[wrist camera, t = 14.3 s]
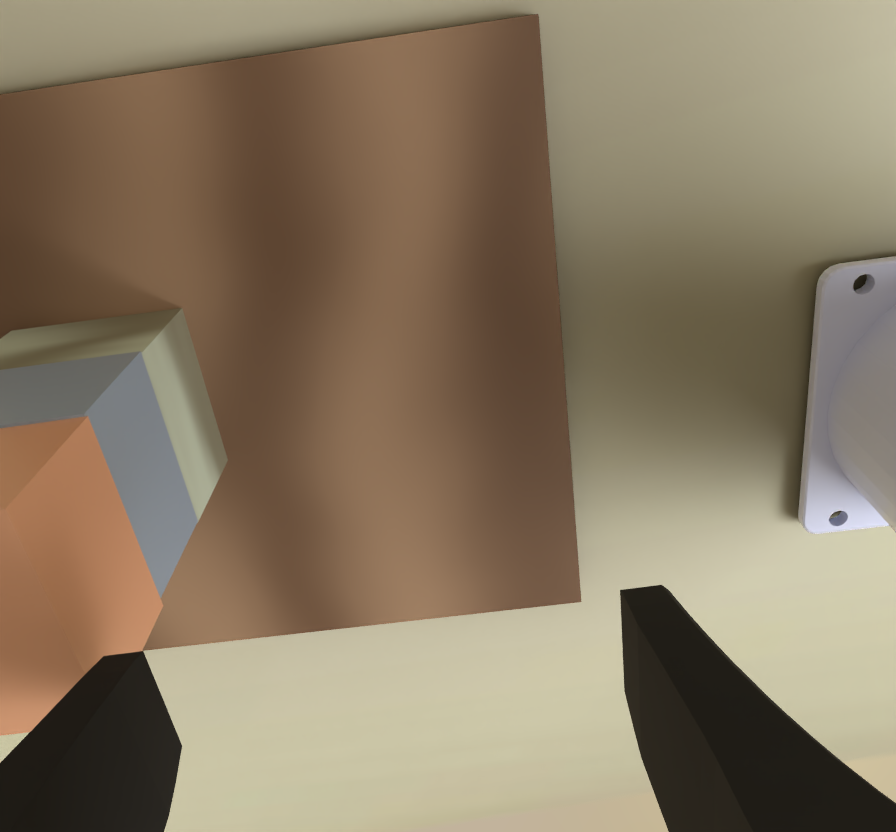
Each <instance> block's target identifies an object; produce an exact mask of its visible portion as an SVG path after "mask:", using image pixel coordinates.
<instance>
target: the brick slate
mask: <svg viewBox="0 0 896 832" xmlns="http://www.w3.org/2000/svg"><path fill="white" fill-rule="evenodd" d="M85 416H88V417H89V420H90V422H91V425H92V427H93V430H94V432H95V435H96V437H97V440H98V442H99V445H100V448H101V450H102V453H103V455H104V458H105V460H106V463H107V465H108V468H109V470H110V473H111V475H112V478H113V480H114V483H115V485H116V488H117V490H118V493H119V495H120V498H121V500H122V503H123V505H124V508H125V510H126V513H127V515H128V518H129V520H130V523H131V526H132V528H133V531H134V533H135V536H136V538H137V541H138V543H139V546H140V548H141V551H142V553H143V556H144V558H145V561H146V563H147V566H148V568H149V571H150V573H151V576H152V578H153V581H154V583H155V586H156V588H157V591H158V593H159V596H160V598H161V597H162V594H163V592H164V590H165V588H166V586H167V584H168V582H169V580H170V578H171V576H172V574H173V572H174V570H175V567H176V565H177V563H178V561H179V559H180V557H181V555H182V553H183V551H184V549H185V547H186V545H187V543H188V541H189V538H190V536H191V534H192V532H193V530H194V528H195V526H196V524H197V522H198V520H197V517H196V514H195V511H194V508H193V505H192V502H191V499H190V496H189V493H188V490H187V487H186V484H185V481H184V478H183V475H182V472H181V469H180V466H179V463H178V460H177V457H176V454H175V451H174V448H173V445H172V442H171V440H170V437H169V434H168V431H167V428H166V425H165V422H164V419H163V416H162V413H161V410H160V407H159V404H158V401H157V398H156V395H155V392H154V389H153V386H152V383H151V380H150V377H149V374H148V371H147V368H146V365H145V362H144V359H143V356H142V353H141V351H138V352H131V353H123V354H116V355H108V356H101V357H94V358H86V359H79V360H71V361H64V362H56V363H49V364H41V365H34V366H26V367H19V368H11V369H4V370H0V428H6V427H13V426H21V425H28V424H35V423H42V422H49V421H56V420H63V419H71V418H78V417H85Z"/></svg>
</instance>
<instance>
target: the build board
mask: <svg viewBox="0 0 896 832" xmlns="http://www.w3.org/2000/svg"><path fill="white" fill-rule="evenodd" d="M138 351H141V353H142V356H143V359H144V362H145V365H146V368H147V371H148V374H149V377H150V380H151V383H152V386H153V389H154V392H155V395H156V398H157V401H158V404H159V407H160V410H161V413H162V416H163V419H164V422H165V425H166V428H167V431H168V434H169V437H170V440H171V442H172V445H173V448H174V451H175V454H176V457H177V460H178V463H179V466H180V469H181V472H182V475H183V478H184V481H185V484H186V487H187V490H188V493H189V496H190V499H191V502H192V505H193V508H194V511H195V514H196V517H197V520H198V522H197V524H196V526H195V528H194V530H193V532H192V534H191V536H190V538H189V541H188V543H187V545H186V547H185V549H184V551H183V553H182V555H181V557H180V559H179V561H178V563H177V565H176V567H175V570H174V572H173V574H172V576H171V578H170V580H169V582H168V584H167V586H166V588H165V590H164V592H163V594H162V597H161V601H162V603H163V608H162V610H161V612H160V614H159V616H158V618H157V620H156V622H155V625H154V627H153V629H152V631H151V633H150V635H149V637H148V639H147V642H146V644H145V646H144V648H143V650H142V651H144V650H153V649H162V648H171V647H180V646H189V645H198V644H207V643H216V642H225V641H233V640H242V639H251V638H260V637H269V636H278V635H287V634H296V633H305V632H314V631H323V630H332V629H341V628H350V627H359V626H368V625H377V624H386V623H395V622H404V621H413V620H422V619H431V618H440V617H449V616H458V615H467V614H476V613H485V612H494V611H503V610H512V609H521V608H530V607H539V606H548V605H557V604H566V603H575V602H581V592H580V578H579V565H578V551H577V537H576V524H575V510H574V496H573V483H572V469H571V455H570V441H569V428H568V414H567V400H566V387H565V373H564V359H563V346H562V332H561V318H560V304H559V291H558V277H557V263H556V250H555V236H554V222H553V208H552V195H551V181H550V167H549V154H548V140H547V126H546V113H545V99H544V85H543V71H542V58H541V44H540V30H539V17H538V14H534V15H528V16H521V17H514V18H507V19H501V20H494V21H487V22H481V23H474V24H467V25H461V26H454V27H447V28H441V29H434V30H427V31H421V32H414V33H407V34H401V35H394V36H387V37H381V38H374V39H367V40H361V41H354V42H347V43H340V44H334V45H327V46H320V47H314V48H307V49H300V50H294V51H287V52H280V53H274V54H267V55H260V56H254V57H247V58H240V59H234V60H227V61H220V62H214V63H207V64H200V65H193V66H187V67H180V68H173V69H167V70H160V71H153V72H147V73H140V74H133V75H127V76H120V77H113V78H107V79H100V80H93V81H87V82H80V83H73V84H67V85H60V86H53V87H47V88H40V89H33V90H26V91H20V92H13V93H6V94H0V370H4V369H11V368H19V367H26V366H34V365H41V364H49V363H56V362H64V361H71V360H79V359H86V358H94V357H101V356H108V355H116V354H123V353H131V352H138Z"/></svg>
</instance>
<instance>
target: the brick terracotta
mask: <svg viewBox="0 0 896 832" xmlns="http://www.w3.org/2000/svg"><path fill="white" fill-rule="evenodd" d="M162 608H163V603H162V601H161V598H160V596H159V593H158V591H157V588H156V586H155V583H154V581H153V578H152V576H151V573H150V571H149V568H148V566H147V563H146V561H145V558H144V556H143V553H142V551H141V548H140V546H139V543H138V541H137V538H136V536H135V533H134V531H133V528H132V526H131V523H130V520H129V518H128V515H127V513H126V510H125V508H124V505H123V503H122V500H121V498H120V495H119V493H118V490H117V488H116V485H115V483H114V480H113V478H112V475H111V473H110V470H109V468H108V465H107V463H106V460H105V458H104V455H103V453H102V450H101V448H100V445H99V442H98V440H97V437H96V435H95V432H94V430H93V427H92V425H91V422H90V420H89V417H88V416H85V417H78V418H71V419H63V420H56V421H49V422H42V423H35V424H28V425H21V426H13V427H6V428H0V735H8V734H17V733H25V732H31V731H32V730H33V729H34V728H35V726H36V725H37V724H38V723H39V722H40V721H41V720H42V719H43V718H44V717H45V716H46V715H47V714H48V713H49V712H50V711H51V710H52V709H53V707H54V706H55V705H56V704H57V703H58V702H59V701H60V700H61V699H62V698H63V697H64V696H65V695H66V694H67V693H68V692H69V691H70V690H71V688H72V687H73V686H74V685H75V684H76V683H77V682H78V681H79V680H80V679H81V678H82V677H83V676H84V675H85V674H86V673H87V672H88V671H89V670H90V669H91V668H92V667H93V666H94V665H95V664H96V663H97V662H98V661H99V660H100V659H101V658H102V657H103V656H108V655H116V654H124V653H131V652H139V651H142V650H143V648H144V646H145V644H146V642H147V639H148V637H149V635H150V633H151V631H152V629H153V627H154V625H155V622H156V620H157V618H158V616H159V614H160V612H161V610H162Z"/></svg>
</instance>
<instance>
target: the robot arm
mask: <svg viewBox="0 0 896 832" xmlns="http://www.w3.org/2000/svg"><path fill="white" fill-rule="evenodd" d="M864 274H867V280H866V283H865V284H864V285H863V286H862V287H861V288H859V289H856V290H854V289H853V284H854V282H855V280H856V279H857V278H858V277H859V276H861V275H864ZM837 511H841V512H840V514H839V515H838V516H837V517H834V518H830V516H831V515H832V514H833V513H834V512H837ZM798 518H799V522H800V523H801V524H802V526H803V527H804V528H805V530H806V531H808V532H810V533H814V534H821V533H830V532H838V531H847V530H856V529H865V528H873V527H882V526H891V527H892V529H893V530H894V531H895V532H896V256H893V257H885V258H878V259H870V260H862V261H855V262H847V263H839V264H836V265H833V266H830V267H829V268H828V269H826V270H825V271H824V272H823V273H822V274H821V276H820V277H819V280H818V283H817V289H816V302H815V314H814V326H813V339H812V351H811V364H810V376H809V388H808V401H807V413H806V425H805V438H804V450H803V462H802V475H801V487H800V499H799V512H798ZM620 595H621V618H622V642H623V665H624V688H625V695H626V699H627V703H628V707H629V711H630V715H631V719H632V723H633V727H634V731H635V735H636V738H637V742H638V746H639V750H640V754H641V758H642V760H643V763H644V766H645V769H646V771H647V774H648V777H649V780H650V782H651V785H652V788H653V790H654V793H655V796H656V798H657V801H658V804H659V807H660V809H661V812H662V815H663V817H664V820H665V822H666V825H667V828H668V831H669V832H896V803H895V802H893V801H892V800H891V799H889V798H888V797H886V796H885V795H884V794H882V793H881V792H880V791H878V790H877V789H876V788H874V787H873V786H872V785H871V784H869V783H868V782H867V781H866V780H864V779H863V778H862V777H861V776H859V775H858V774H857V773H855V772H854V771H853V770H852V769H850V768H849V767H848V766H847V765H845V764H844V763H843V762H842V761H840V760H839V759H838V758H837V757H836V756H834V755H833V754H832V753H831V752H830V751H828V750H827V749H826V748H825V747H824V746H822V745H821V744H820V743H819V742H818V741H817V740H815V739H814V738H813V737H812V736H811V735H810V734H809V733H807V732H806V731H805V730H804V729H803V728H802V727H801V726H800V725H798V724H797V723H796V722H795V721H794V720H793V719H792V718H791V717H790V716H788V715H787V714H786V713H785V712H784V711H783V710H782V709H781V708H780V707H779V706H778V705H776V704H775V703H774V702H773V701H772V700H771V699H770V698H769V697H768V696H767V695H766V694H765V693H764V692H763V691H762V690H761V689H760V688H759V687H758V686H757V685H756V684H755V683H754V682H753V681H752V680H751V679H750V678H749V677H748V676H747V675H746V674H745V673H744V672H743V671H742V670H741V669H740V668H739V667H738V666H736V665H735V664H734V663H733V661H732V660H731V659H730V658H729V657H728V656H727V655H726V654H725V653H724V652H723V651H722V650H721V649H720V648H719V647H718V646H717V645H716V644H715V643H714V641H713V640H712V639H711V638H710V637H709V636H708V635H707V634H706V633H705V632H704V631H703V630H702V628H701V627H700V626H699V625H698V624H697V623H696V622H695V621H694V619H693V618H692V617H691V616H690V615H689V614H688V613H687V611H686V610H685V609H684V608H683V607H682V605H681V604H680V603H679V602H678V601H677V600H676V598H675V597H674V596H673V595H672V593H671V592H670V591H669V590H668V589H666V588H665V587H664V586H662V585H657V586H649V587H641V588H634V589H626V590H620ZM181 749H182V745H181V742H180V740H179V737H178V735H177V732H176V730H175V728H174V725H173V723H172V720H171V718H170V715H169V713H168V711H167V708H166V706H165V703H164V701H163V698H162V696H161V694H160V691H159V689H158V686H157V684H156V682H155V679H154V677H153V674H152V672H151V669H150V667H149V665H148V662H147V660H146V657H145V655H144V652H143V651H139V652H131V653H124V654H116V655H108V656H103V657H102V658H101V659H100V660H99V661H98V662H97V663H96V664H95V665H94V666H93V667H92V668H91V669H90V670H89V671H88V672H87V673H86V674H85V675H84V676H83V677H82V678H81V679H80V680H79V681H78V682H77V683H76V684H75V685H74V686H73V687H72V688H71V690H70V691H69V692H68V693H67V694H66V695H65V696H64V697H63V698H62V699H61V700H60V701H59V702H58V703H57V704H56V705H55V706H54V707H53V709H52V710H51V711H50V712H49V713H48V714H47V715H46V716H45V717H44V718H43V719H42V720H41V721H40V722H39V723H38V724H37V725H36V726H35V728H34V729H33V730H32V731H31V732H30V733H29V734H28V735H27V736H26V737H25V738H24V739H23V740H22V741H21V742H20V743H19V744H18V745H17V746H16V747H15V748H14V749H13V750H12V751H11V752H10V753H9V755H8V756H7V757H6V758H5V759H4V760H3V761H2V762H1V763H0V832H164V829H165V826H166V823H167V820H168V816H169V812H170V807H171V803H172V798H173V793H174V788H175V783H176V777H177V772H178V766H179V760H180V755H181Z"/></svg>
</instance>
